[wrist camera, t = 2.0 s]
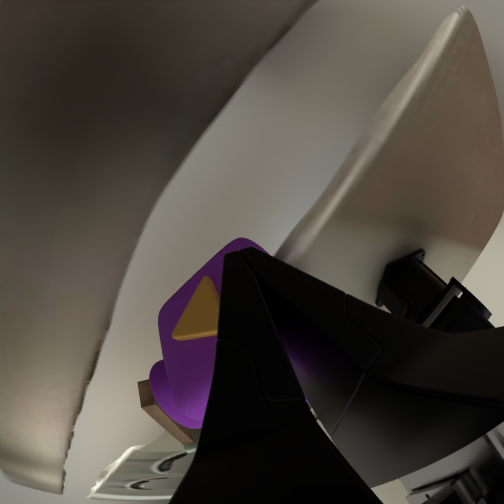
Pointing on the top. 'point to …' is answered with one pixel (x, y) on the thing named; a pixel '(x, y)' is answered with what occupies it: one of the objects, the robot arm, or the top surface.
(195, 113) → the top surface
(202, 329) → the toy camera
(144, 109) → the top surface
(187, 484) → the robot arm
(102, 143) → the top surface
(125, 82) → the top surface
